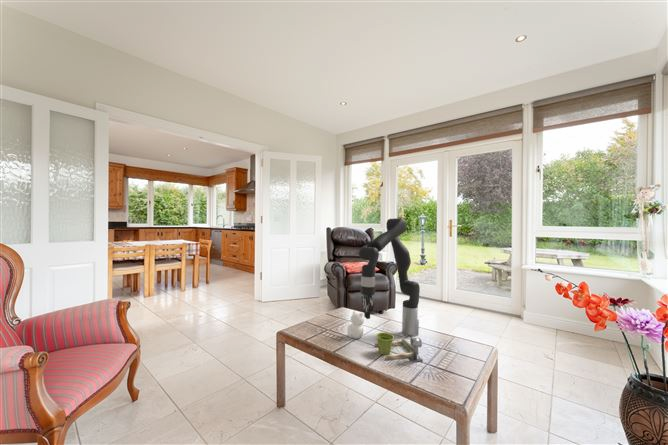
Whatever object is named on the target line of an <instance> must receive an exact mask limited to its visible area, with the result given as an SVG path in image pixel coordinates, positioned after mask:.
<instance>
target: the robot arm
mask: <svg viewBox="0 0 668 445" xmlns="http://www.w3.org/2000/svg"><path fill="white" fill-rule="evenodd" d="M385 227H386V231H384V232H382V233H380V234H379V235H378V236H376V237H375V238H374V239H373V240H372V241H370V242H368V243H367V244H364V245H363V246H361V247H360V249H359V251H358V256H359V258H360V259H361V260H363V261H368V263H367V264H363V265H362V266H361V278H360V294H361V295H362V296H361V304H362V308H363V310H364V312H363V318H365V319H367V320H369V319H371V312H373V310H374V308H375V302H374V301H373V296H374V295H375V294H376V267H377V263H378V260H379V256H380V252H381V251H383V249H385V248H386V247H387V245H389V243H391V247H392V251H393V257H394V261H395V264H396V270H397V275H398V280H399V281H398V282H399V289H400V292H401V293H402V294H403V295H406V296H409V299H405V300H403V301H402V312H401V314H402V319H401V323H402V325H401V333H402V335H404V336H407V335H413V337H416V336H419V335H420V334H419V330H420V329H419V328H420V327H419V325H420V320H419V318H418V316H419V315H418V314H419V313H418V311H419V310H418V309H419V308H418V307H419V304H420V303H419V302H420V301H419V300H420V287H421V286H420V284H419V282H417V281H412V280H409V278H408V271H409V268H410V267H411V263H412V260H411V256H410V255H411V254H410V252H409V249H408V248H407V247H406V246H405V245H404V243H403V242H402V241H401V240H400V236H401V235H402V234H404V233H405V232H406V230H407V229H408V228H407V227H408V224H407V221H406V220H405V219H404V218H402V217H400V218H399V217H397V218H389V219H387V221H386V226H385Z"/></svg>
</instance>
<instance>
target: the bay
mask: <svg viewBox="0 0 668 445" xmlns="http://www.w3.org/2000/svg"><path fill="white" fill-rule="evenodd" d="M394 346H403V347H405V348H406V349H407V351H409V352H406V353H404V352H403V353H397V354H396V353H395V354H394V353H393V354H389V355H388V354H387V355H385V360H386V361H391V360H400V359H410V358H409V356H413V347H412V346H411V344H410V342H409V341H408V340H406V339H405V338H402V339H401V340H398V341H397V340H396V341H392V346H391V347H394ZM374 347H375V348H378V342H375V343H374ZM418 354H419V350H418Z"/></svg>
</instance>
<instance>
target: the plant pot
mask: <svg viewBox="0 0 668 445" xmlns="http://www.w3.org/2000/svg"><path fill="white" fill-rule="evenodd" d="M375 335H376V340H377V343H378V347H377V348H378V353H379V354H380V355H384V356H386V355H391V351H392V347H393V346H392V342H394V341H393V340H394V338H395V336H394V335H393V334H392V333H391V334H390V333H388V332H378V333H377V334H375Z"/></svg>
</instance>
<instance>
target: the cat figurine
mask: <svg viewBox="0 0 668 445" xmlns="http://www.w3.org/2000/svg"><path fill="white" fill-rule="evenodd" d="M364 318H365V317H364V312H358V311H356V310H353V312H352V315H351V316H350V321H351V323H349V324H348V326H347V335H348V337H349V338H350V339H354V340H359V339H360V338H361V337H362V336H363V335H364V327H363V326H362V325H363V324H364V322H365V320H364Z"/></svg>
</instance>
